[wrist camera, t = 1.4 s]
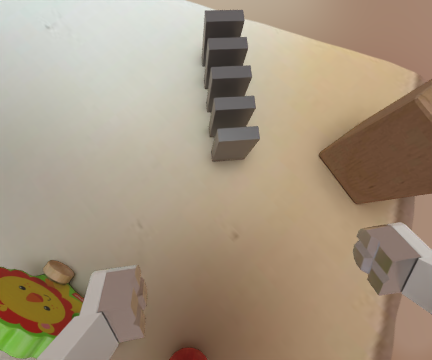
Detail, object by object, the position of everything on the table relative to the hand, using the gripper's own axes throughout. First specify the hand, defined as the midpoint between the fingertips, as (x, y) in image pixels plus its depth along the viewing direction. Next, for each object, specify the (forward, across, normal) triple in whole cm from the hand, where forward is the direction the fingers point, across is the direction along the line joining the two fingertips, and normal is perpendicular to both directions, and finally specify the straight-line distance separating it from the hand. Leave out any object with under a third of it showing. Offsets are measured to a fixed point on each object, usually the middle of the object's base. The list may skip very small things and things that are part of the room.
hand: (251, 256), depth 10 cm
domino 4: (+34, -4, +10) cm, 35 cm away
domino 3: (+36, -4, +7) cm, 37 cm away
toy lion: (+18, +20, +25) cm, 37 cm away
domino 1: (+42, -4, +1) cm, 42 cm away
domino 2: (+39, -4, +4) cm, 39 cm away
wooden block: (+29, -25, +16) cm, 42 cm away
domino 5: (+31, -4, +13) cm, 34 cm away
